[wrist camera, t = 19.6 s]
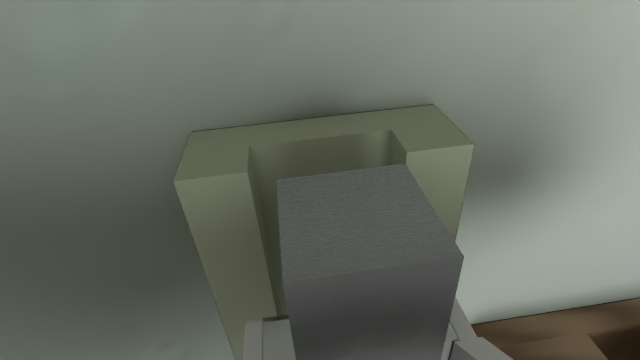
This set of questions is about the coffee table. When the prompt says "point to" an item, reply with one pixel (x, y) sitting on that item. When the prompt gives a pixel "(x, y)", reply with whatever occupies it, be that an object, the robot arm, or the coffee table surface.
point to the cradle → (293, 161)
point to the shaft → (365, 266)
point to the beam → (570, 333)
